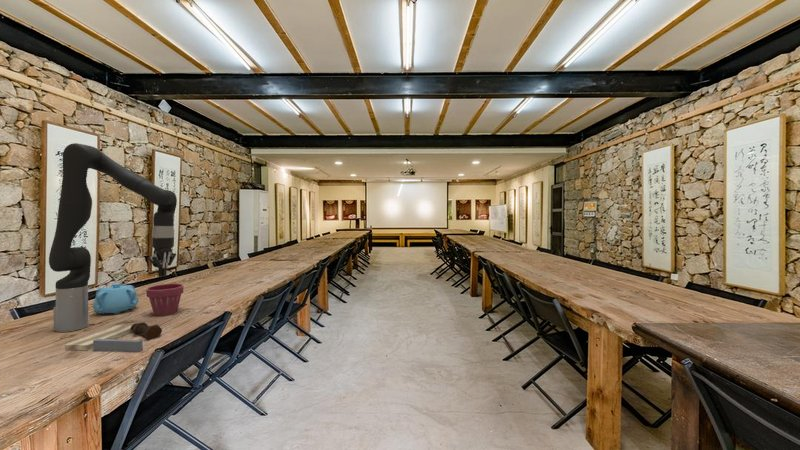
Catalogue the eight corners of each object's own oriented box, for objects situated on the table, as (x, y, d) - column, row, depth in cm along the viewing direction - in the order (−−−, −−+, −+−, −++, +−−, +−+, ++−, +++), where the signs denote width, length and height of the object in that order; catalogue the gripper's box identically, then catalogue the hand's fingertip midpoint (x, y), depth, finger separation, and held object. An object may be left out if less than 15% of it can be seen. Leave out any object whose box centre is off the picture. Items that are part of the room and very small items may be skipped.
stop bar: (93, 350, 109) (93, 340, 109) (97, 348, 111) (97, 338, 111) (138, 351, 109) (138, 341, 109) (142, 349, 110) (142, 339, 110)
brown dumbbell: (137, 335, 128) (156, 341, 121) (123, 332, 124) (142, 339, 117) (145, 321, 131) (164, 326, 124) (132, 318, 127) (151, 323, 120)
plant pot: (144, 319, 143) (144, 291, 142) (148, 311, 154) (148, 285, 154) (183, 314, 150) (183, 287, 150) (183, 307, 162) (183, 282, 162)
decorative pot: (137, 312, 152) (137, 284, 152) (90, 318, 142) (90, 288, 142) (138, 305, 165) (139, 279, 165) (96, 309, 155) (96, 282, 155)
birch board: (65, 349, 109) (65, 344, 109) (117, 329, 129) (117, 325, 129) (87, 350, 109) (87, 345, 109) (137, 329, 129) (137, 325, 129)
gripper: (166, 235, 142) (165, 273, 143) (141, 237, 129) (140, 279, 129) (182, 235, 142) (182, 274, 142) (159, 237, 129) (158, 280, 129)
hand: (162, 276), depth 136 cm, fingers closed
